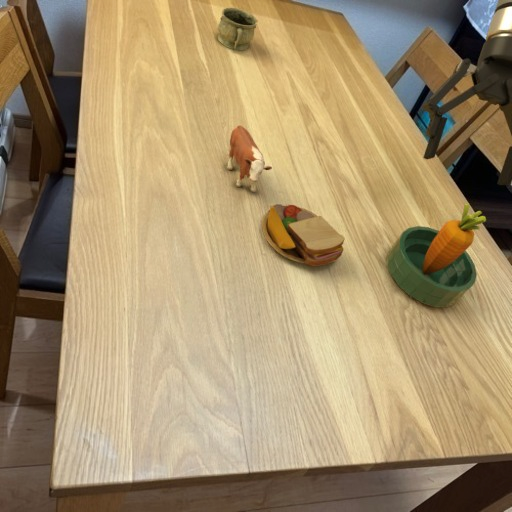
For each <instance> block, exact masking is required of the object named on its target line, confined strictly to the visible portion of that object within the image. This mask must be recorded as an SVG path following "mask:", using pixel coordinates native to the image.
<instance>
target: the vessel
mask: <svg viewBox="0 0 512 512" xmlns="http://www.w3.org/2000/svg"><path fill="white" fill-rule="evenodd" d="M257 25H258V19H257V18H256V17H255V16H254V15H253V14H251V13H250V12H248V11H246V10H244V9H240V8H237V7H225V8H223V9H222V11H221V15H220V21H219V23H218V26H217V30H218V32H219V33H218V36H217V39H218V41H219V42H220V43H221V44H222V45H223V46H225V47H227V48H229V49H231V50H234V51H244V50H247V49H248V48H249V43H250V42H251V41H252V40H253V39H254V36H255V29H256V28H257Z"/></svg>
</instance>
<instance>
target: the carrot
mask: <svg viewBox="0 0 512 512" xmlns="http://www.w3.org/2000/svg"><path fill="white" fill-rule="evenodd" d="M469 211H470V203H464V206H463V212H462V216H461V220H460V219H456V220H455V219H453V220H447V221H446V222H445V223H444V225H442V227H441V228H440V230H438V231H439V233H438V234H437V235H436V237H435V238H434V240H433V241H432V243H431V245H430V247H429V249H428V251H427V253H426V256H425V259H424V263H423V269H422V271H423V274H430V273H434V272H437V271H439V270H441V269H443V268H445V267H446V266H448V265H449V264H451V263H452V262H453V261H455V260H456V259H457V258H458V257H459V256H460V255H461V254H462V253H463V252H464V251H467V249H469V247H470V246H471V245H472V244H473V242H474V240H475V239H474V238H475V230H476V231H477V230H480V229H481V228H480V226H479V225H480V224H483V223H485V222H486V221H487V218H486V216H485V215H482V214H483V211H481V210H477V211H476V212H474V213H471V214H469ZM480 215H481V216H480Z"/></svg>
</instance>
